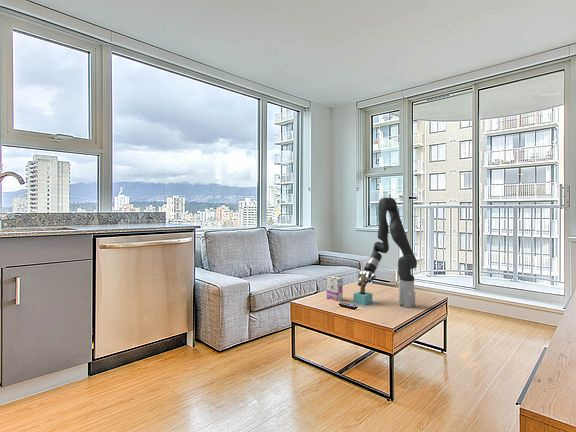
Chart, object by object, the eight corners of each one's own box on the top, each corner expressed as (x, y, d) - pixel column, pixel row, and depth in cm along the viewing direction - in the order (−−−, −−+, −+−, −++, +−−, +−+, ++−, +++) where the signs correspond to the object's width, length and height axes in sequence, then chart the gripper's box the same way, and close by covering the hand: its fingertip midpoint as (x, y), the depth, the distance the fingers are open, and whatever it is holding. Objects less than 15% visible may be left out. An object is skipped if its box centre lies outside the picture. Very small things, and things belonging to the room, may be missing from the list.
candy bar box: (342, 301, 232) (343, 278, 231) (337, 302, 229) (337, 279, 228) (331, 297, 241) (331, 275, 240) (326, 299, 238) (326, 276, 237)
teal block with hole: (372, 302, 226) (372, 293, 226) (364, 305, 220) (364, 296, 220) (361, 299, 233) (361, 290, 233) (353, 302, 227) (353, 293, 227)
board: (378, 304, 226) (378, 302, 226) (365, 309, 215) (365, 307, 215) (361, 299, 236) (361, 298, 236) (347, 304, 225) (347, 302, 225)
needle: (365, 294, 227) (366, 274, 226) (363, 295, 225) (363, 275, 224) (362, 293, 229) (362, 273, 228) (359, 294, 227) (359, 274, 226)
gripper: (361, 260, 236) (350, 280, 228) (378, 263, 226) (367, 284, 218) (365, 267, 240) (354, 287, 232) (382, 270, 229) (372, 291, 222)
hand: (361, 285), depth 225 cm, fingers closed on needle, 3 cm apart
